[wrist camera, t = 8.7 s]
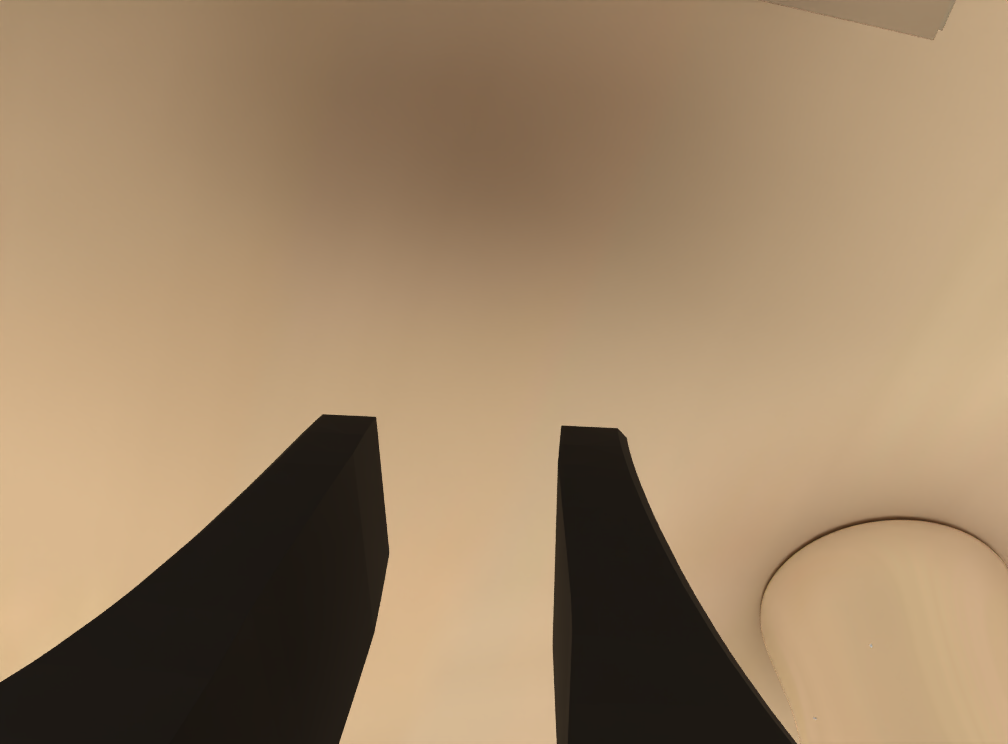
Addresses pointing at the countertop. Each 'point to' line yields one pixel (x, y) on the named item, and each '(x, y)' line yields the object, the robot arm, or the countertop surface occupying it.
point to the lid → (883, 13)
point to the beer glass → (892, 636)
